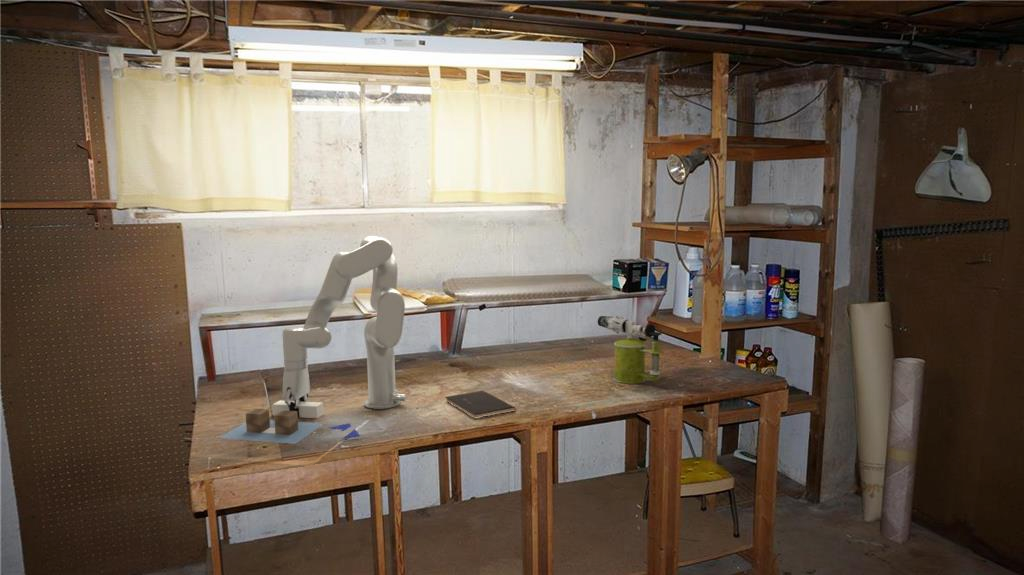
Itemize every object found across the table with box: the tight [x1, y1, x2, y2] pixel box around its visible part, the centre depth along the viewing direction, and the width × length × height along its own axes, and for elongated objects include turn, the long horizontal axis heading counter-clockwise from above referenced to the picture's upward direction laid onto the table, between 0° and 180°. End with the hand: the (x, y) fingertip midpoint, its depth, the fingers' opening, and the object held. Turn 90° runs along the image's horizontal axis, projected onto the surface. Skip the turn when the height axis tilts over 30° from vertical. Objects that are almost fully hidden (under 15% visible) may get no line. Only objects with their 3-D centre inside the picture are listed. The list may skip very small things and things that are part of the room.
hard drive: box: [328, 423, 361, 443], centre depth 214 cm, size 2×8×12 cm
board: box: [218, 419, 325, 445], centre depth 214 cm, size 26×18×1 cm
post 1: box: [245, 408, 271, 433], centre depth 215 cm, size 5×5×6 cm
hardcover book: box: [445, 390, 516, 419], centre depth 240 cm, size 16×23×2 cm
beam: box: [272, 400, 325, 419], centre depth 230 cm, size 16×4×5 cm, turn 79°
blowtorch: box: [597, 315, 664, 385], centre depth 270 cm, size 13×33×25 cm, turn 36°
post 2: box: [273, 410, 299, 435], centre depth 213 cm, size 5×5×6 cm
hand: (298, 416), depth 230 cm, fingers closed on beam, 4 cm apart
